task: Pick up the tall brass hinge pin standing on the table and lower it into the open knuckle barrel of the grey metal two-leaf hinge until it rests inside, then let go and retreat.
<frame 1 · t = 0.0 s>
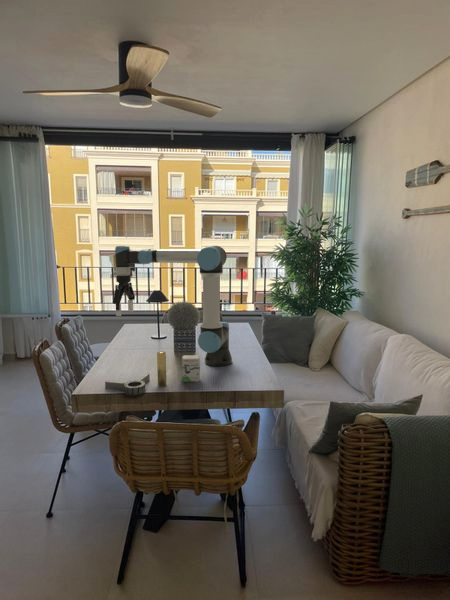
hand: (124, 313, 213), 28 cm above the table, fingers open, 13 cm apart
pin: (162, 385, 184), on the table
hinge: (135, 391, 177), on the table
ink box: (191, 380, 191), on the table
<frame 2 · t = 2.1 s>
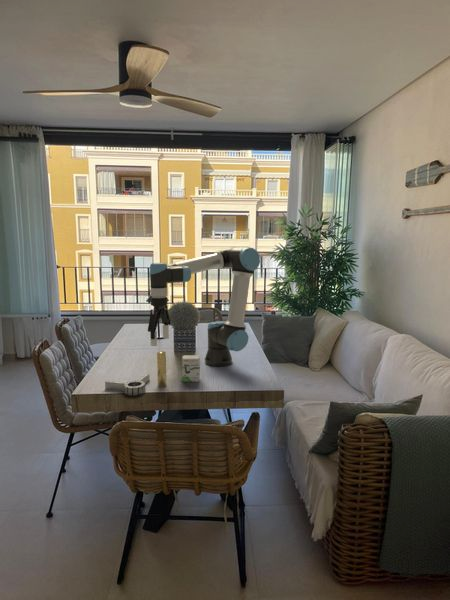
hand: (160, 342, 181), 21 cm above the table, fingers open, 13 cm apart
nothing on the table moved.
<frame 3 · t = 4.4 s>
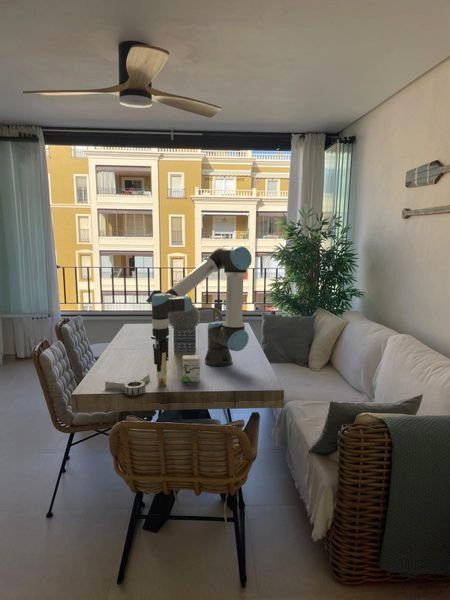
hand: (161, 375, 183), 5 cm above the table, fingers closed on pin, 4 cm apart
pin: (162, 385, 184), on the table, touching gripper
everything else where it was.
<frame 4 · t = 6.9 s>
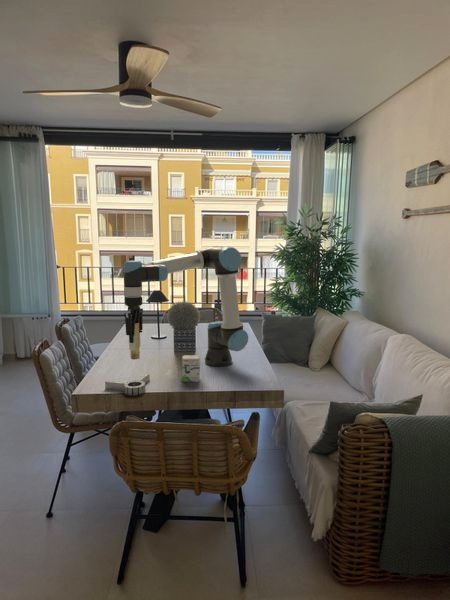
hand: (135, 348, 174), 20 cm above the table, fingers closed on pin, 4 cm apart
pin: (135, 358, 175), point 16 cm above the table, touching gripper
everything else where it was.
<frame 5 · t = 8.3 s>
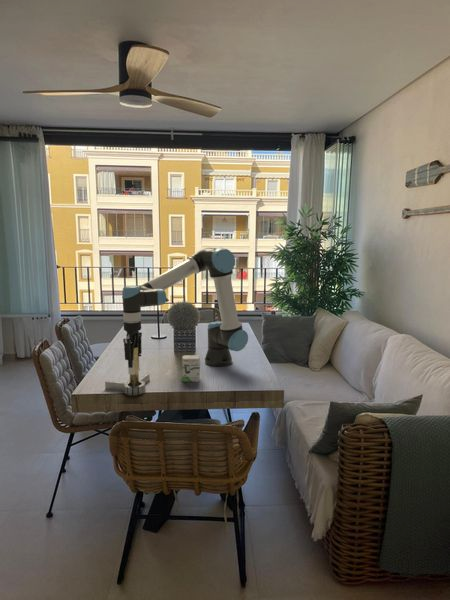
hand: (134, 372, 175), 9 cm above the table, fingers closed on pin, 4 cm apart
pin: (134, 382, 176), point 4 cm above the table, touching gripper
everything else where it was.
when the fingers open (5 cm above the table, at t = 9.3 s): pin stays where it is, resting in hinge.
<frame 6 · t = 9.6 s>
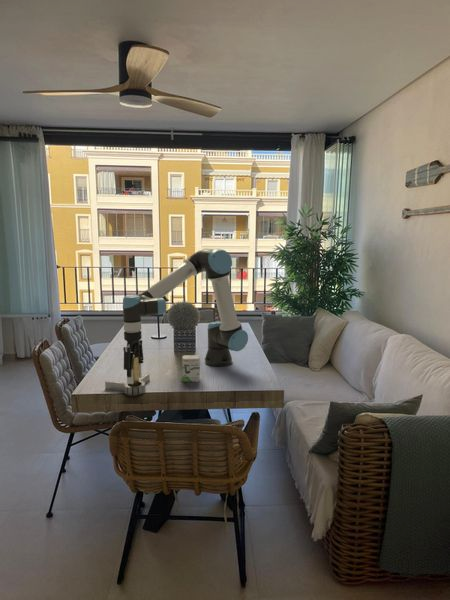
hand: (134, 380, 176), 5 cm above the table, fingers open, 7 cm apart
pin: (135, 391, 177), resting in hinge
everything else where it was.
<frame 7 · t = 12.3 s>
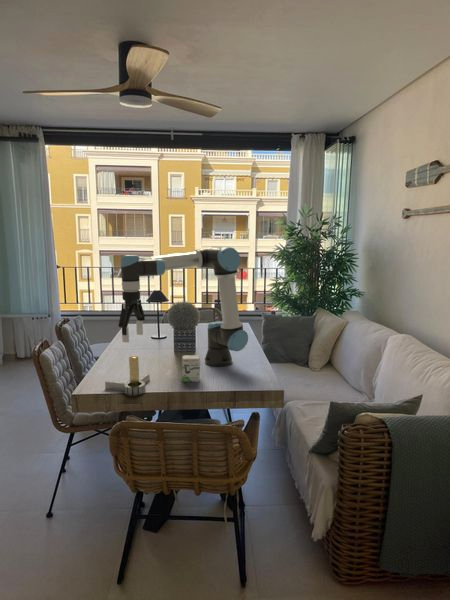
hand: (133, 338, 173), 25 cm above the table, fingers open, 13 cm apart
nothing on the table moved.
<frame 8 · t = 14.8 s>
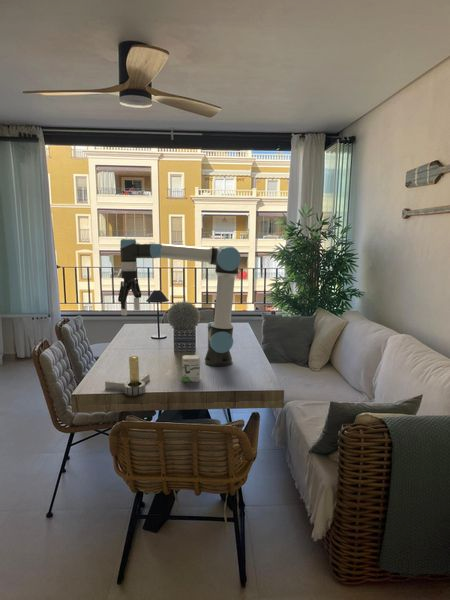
hand: (130, 312, 196), 32 cm above the table, fingers open, 13 cm apart
nothing on the table moved.
at the end: pin 0.0 cm off-centre on the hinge, point 0.0 cm above the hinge's base; pin tilted 0°; the gripper is holding nothing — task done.
